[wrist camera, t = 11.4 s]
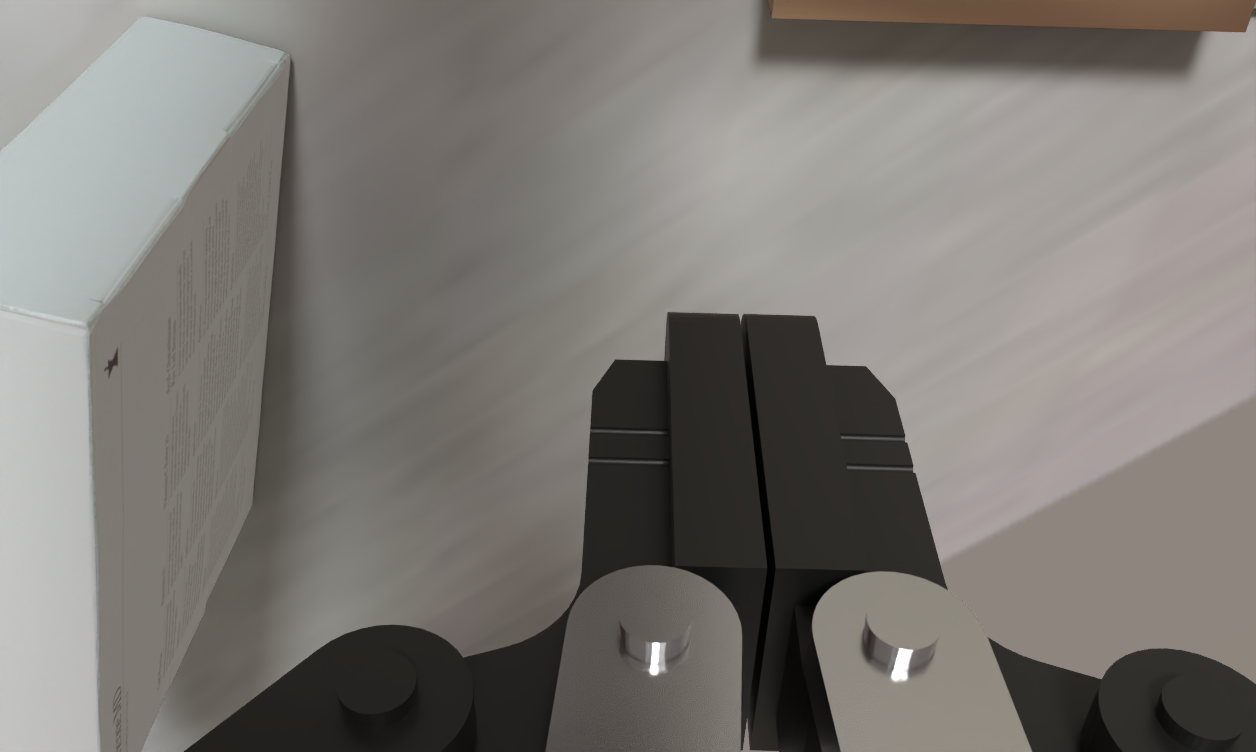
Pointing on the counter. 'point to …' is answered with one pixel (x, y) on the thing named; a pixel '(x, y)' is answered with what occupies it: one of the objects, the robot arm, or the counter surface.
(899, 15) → the brown flat block
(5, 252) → the skincare box
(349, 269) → the counter surface
